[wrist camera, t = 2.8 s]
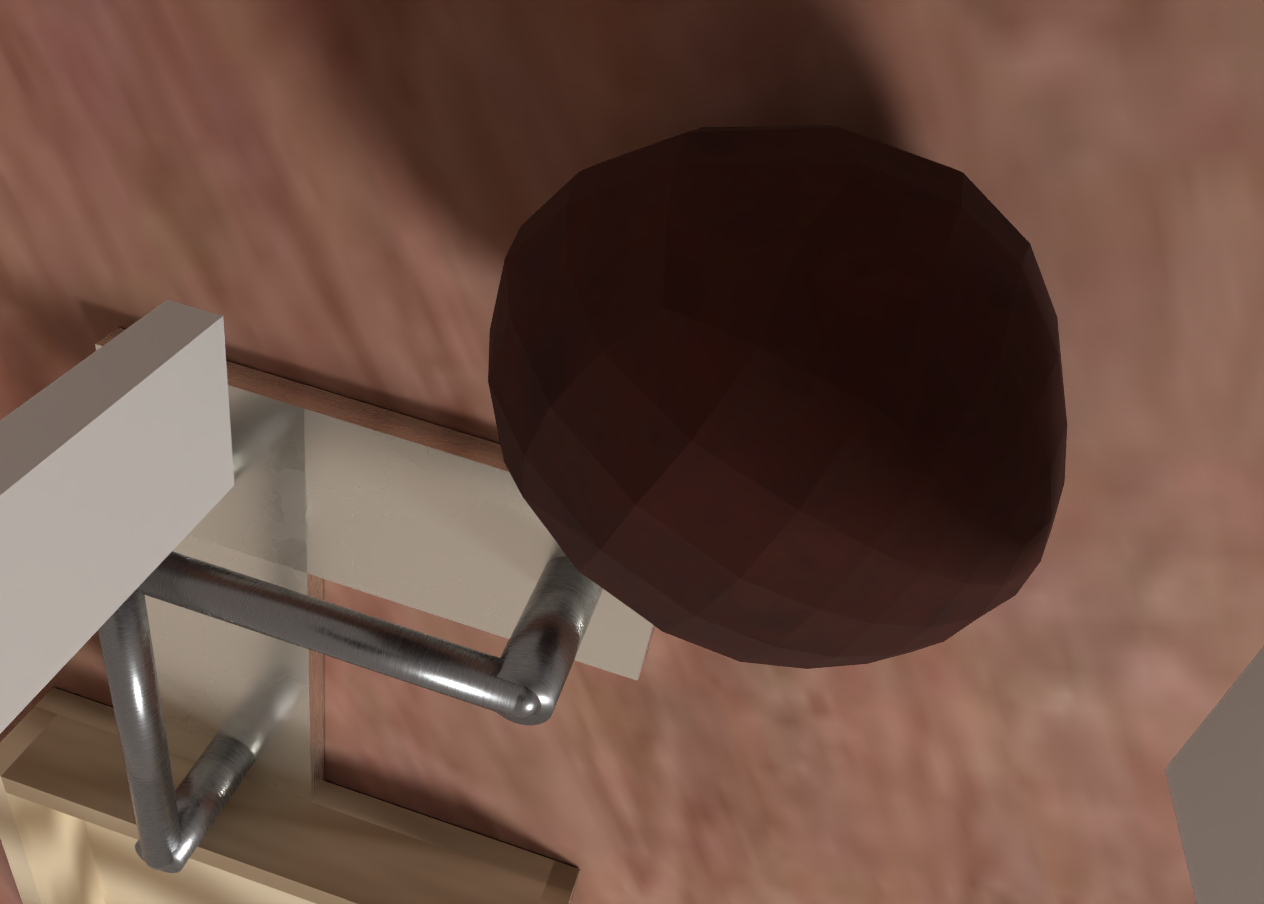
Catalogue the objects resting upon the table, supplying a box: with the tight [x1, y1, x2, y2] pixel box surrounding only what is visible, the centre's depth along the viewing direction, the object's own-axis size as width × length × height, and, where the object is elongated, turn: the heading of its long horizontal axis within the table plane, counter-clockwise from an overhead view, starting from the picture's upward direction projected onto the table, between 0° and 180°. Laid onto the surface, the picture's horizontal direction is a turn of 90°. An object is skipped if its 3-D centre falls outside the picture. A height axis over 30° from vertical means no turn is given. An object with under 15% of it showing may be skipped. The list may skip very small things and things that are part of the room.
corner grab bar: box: [95, 328, 654, 873], centre depth 26 cm, size 16×14×5 cm
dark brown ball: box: [488, 126, 1067, 669], centre depth 16 cm, size 8×9×8 cm
